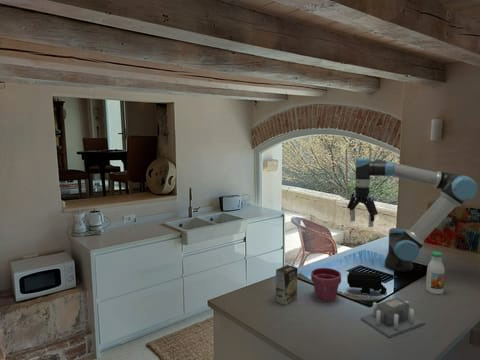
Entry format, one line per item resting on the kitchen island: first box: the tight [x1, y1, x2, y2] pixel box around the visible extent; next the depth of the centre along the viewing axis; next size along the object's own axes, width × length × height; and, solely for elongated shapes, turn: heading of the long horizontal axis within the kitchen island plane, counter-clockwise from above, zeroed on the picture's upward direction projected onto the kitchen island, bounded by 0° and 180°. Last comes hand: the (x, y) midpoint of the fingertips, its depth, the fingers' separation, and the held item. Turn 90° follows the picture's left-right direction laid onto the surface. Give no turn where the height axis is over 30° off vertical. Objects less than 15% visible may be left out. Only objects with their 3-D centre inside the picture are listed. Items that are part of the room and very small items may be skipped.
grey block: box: [377, 297, 410, 327], centre depth 146 cm, size 12×6×7 cm, turn 116°
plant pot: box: [310, 267, 342, 303], centre depth 168 cm, size 14×14×13 cm
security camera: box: [346, 270, 388, 296], centre depth 173 cm, size 7×18×10 cm, turn 78°
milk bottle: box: [425, 251, 446, 295], centre depth 172 cm, size 8×8×20 cm
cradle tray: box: [360, 297, 426, 339], centre depth 147 cm, size 21×15×7 cm
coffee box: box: [275, 264, 298, 306], centre depth 167 cm, size 9×6×16 cm
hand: (361, 224), depth 193 cm, fingers open, 13 cm apart
